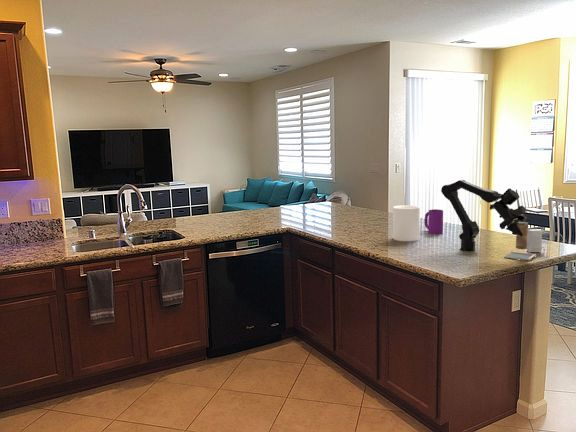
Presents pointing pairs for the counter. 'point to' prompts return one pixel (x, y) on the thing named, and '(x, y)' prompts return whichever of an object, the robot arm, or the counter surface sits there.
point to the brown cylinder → (522, 240)
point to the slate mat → (520, 255)
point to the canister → (406, 223)
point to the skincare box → (534, 240)
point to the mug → (434, 221)
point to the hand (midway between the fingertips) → (524, 234)
